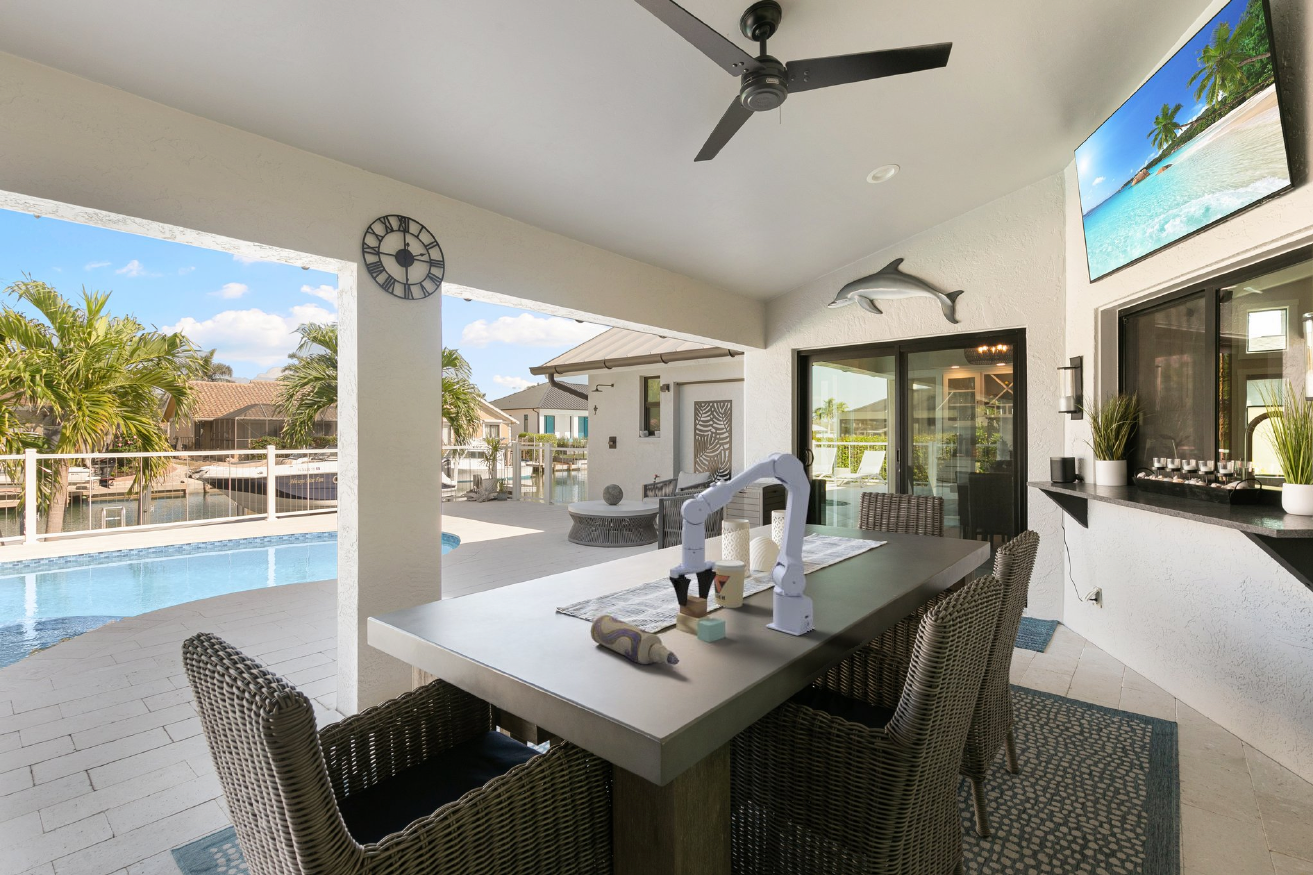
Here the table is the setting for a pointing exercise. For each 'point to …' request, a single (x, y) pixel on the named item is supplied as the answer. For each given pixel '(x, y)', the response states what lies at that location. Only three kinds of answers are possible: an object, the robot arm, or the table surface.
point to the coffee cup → (729, 583)
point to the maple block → (689, 623)
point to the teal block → (711, 629)
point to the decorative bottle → (631, 641)
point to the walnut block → (694, 607)
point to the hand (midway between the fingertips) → (693, 602)
